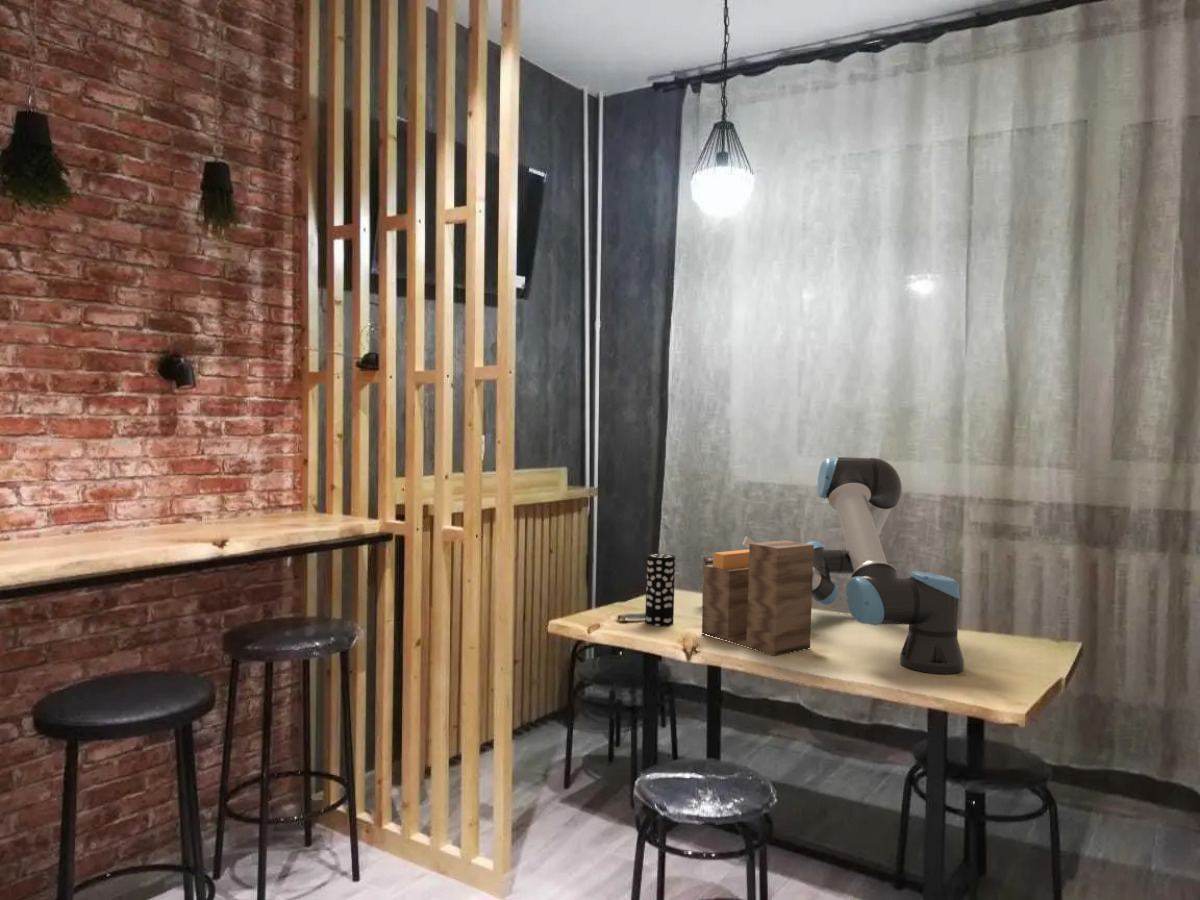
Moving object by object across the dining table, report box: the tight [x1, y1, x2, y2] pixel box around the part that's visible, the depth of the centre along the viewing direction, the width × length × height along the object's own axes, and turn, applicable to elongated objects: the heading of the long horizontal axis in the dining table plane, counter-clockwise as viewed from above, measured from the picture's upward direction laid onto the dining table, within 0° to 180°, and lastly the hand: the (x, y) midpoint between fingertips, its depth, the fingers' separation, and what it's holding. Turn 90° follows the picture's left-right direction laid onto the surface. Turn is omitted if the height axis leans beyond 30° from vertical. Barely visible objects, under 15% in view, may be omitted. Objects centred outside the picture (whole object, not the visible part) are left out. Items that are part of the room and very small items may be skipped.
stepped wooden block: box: [701, 539, 814, 657], centre depth 252 cm, size 27×14×28 cm, turn 38°
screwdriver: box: [712, 548, 749, 569], centre depth 262 cm, size 24×4×4 cm, turn 127°
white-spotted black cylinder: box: [644, 553, 676, 627], centre depth 271 cm, size 8×8×20 cm
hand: (762, 543), depth 265 cm, fingers open, 13 cm apart
